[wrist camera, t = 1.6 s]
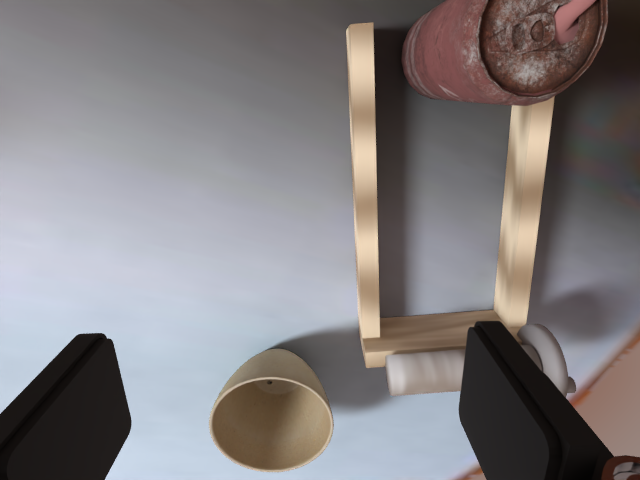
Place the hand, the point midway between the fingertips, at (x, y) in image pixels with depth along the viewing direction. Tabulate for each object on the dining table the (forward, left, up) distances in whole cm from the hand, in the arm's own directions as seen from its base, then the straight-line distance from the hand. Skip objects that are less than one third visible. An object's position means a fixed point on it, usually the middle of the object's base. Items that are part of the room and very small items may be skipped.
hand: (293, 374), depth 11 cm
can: (-9, +11, -24) cm, 28 cm away
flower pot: (+18, -4, -24) cm, 30 cm away
